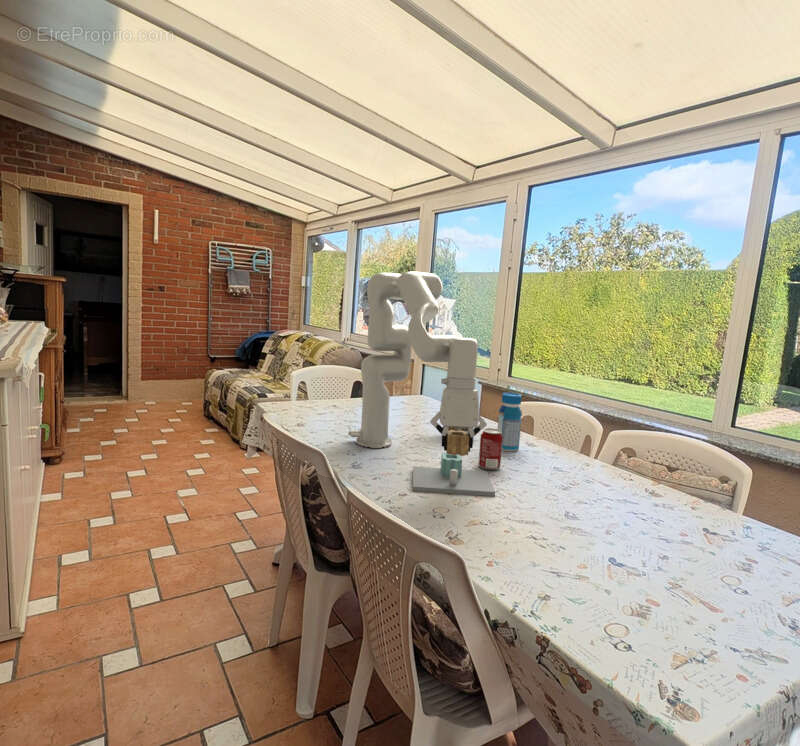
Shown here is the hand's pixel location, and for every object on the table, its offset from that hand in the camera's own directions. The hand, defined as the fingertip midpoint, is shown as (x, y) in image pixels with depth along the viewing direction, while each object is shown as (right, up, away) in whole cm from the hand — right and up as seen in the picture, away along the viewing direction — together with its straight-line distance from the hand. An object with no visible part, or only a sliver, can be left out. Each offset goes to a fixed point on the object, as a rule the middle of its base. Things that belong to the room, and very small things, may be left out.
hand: (456, 449), depth 127 cm
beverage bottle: (+23, -7, +43) cm, 49 cm away
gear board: (-1, -11, +6) cm, 12 cm away
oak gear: (0, -1, 0) cm, 1 cm away
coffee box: (+8, -4, +57) cm, 57 cm away
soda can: (+13, -9, +21) cm, 26 cm away
